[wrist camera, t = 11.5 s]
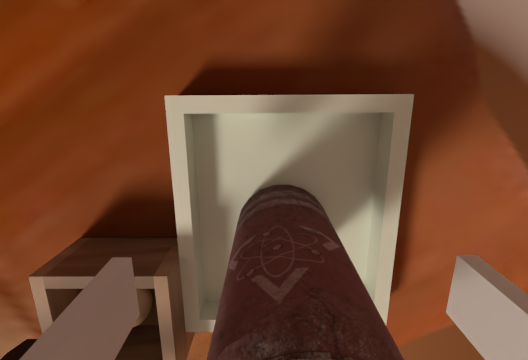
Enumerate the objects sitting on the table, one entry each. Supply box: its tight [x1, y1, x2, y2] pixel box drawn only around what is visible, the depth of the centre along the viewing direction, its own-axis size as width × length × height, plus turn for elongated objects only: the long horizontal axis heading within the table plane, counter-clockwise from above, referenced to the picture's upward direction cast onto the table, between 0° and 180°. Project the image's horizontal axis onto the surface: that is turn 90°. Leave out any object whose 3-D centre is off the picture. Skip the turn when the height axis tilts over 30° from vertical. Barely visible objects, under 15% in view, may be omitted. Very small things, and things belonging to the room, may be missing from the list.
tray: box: [165, 94, 414, 332], centre depth 20 cm, size 16×14×3 cm
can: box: [207, 185, 404, 360], centre depth 14 cm, size 6×6×14 cm
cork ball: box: [132, 289, 152, 328], centre depth 21 cm, size 3×3×3 cm
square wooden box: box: [29, 237, 195, 360], centre depth 21 cm, size 8×8×5 cm
